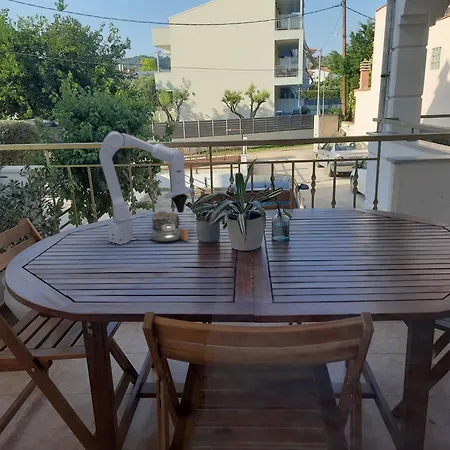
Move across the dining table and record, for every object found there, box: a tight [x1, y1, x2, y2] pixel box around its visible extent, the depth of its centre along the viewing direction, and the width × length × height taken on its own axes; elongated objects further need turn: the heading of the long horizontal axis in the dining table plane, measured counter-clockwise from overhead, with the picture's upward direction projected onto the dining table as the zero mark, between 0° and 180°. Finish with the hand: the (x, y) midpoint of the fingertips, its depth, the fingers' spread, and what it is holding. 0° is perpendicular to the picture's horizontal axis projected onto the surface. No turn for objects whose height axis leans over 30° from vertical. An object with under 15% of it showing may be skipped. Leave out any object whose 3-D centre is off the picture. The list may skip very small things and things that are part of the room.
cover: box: [162, 224, 177, 235], centre depth 166 cm, size 6×6×3 cm
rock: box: [151, 210, 180, 230], centre depth 184 cm, size 13×6×15 cm
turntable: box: [150, 227, 190, 242], centre depth 165 cm, size 15×18×4 cm
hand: (180, 212), depth 170 cm, fingers closed
